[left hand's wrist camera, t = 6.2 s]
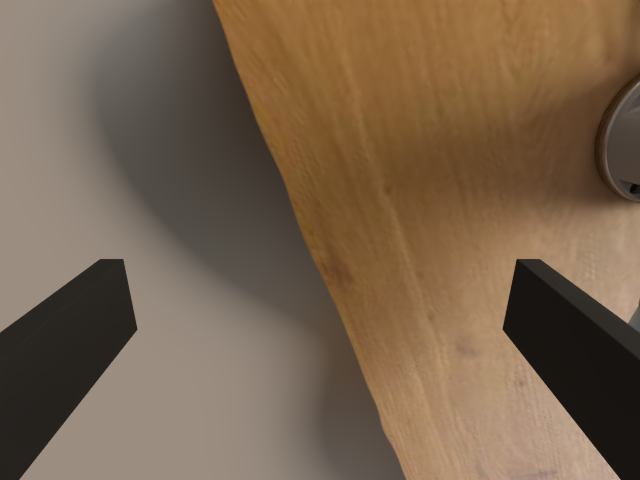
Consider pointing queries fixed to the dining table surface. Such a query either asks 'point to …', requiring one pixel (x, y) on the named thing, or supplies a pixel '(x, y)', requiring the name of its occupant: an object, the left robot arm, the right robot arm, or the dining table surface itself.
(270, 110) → the dining table surface
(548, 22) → the dining table surface
